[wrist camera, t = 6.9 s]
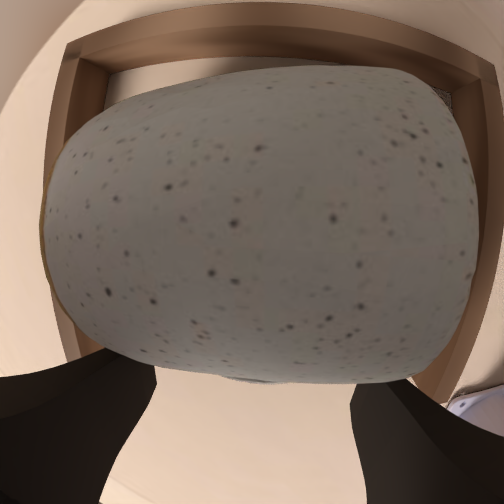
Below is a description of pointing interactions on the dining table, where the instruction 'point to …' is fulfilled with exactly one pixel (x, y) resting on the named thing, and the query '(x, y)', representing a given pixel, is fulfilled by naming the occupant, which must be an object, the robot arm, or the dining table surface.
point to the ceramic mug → (268, 226)
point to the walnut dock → (316, 48)
